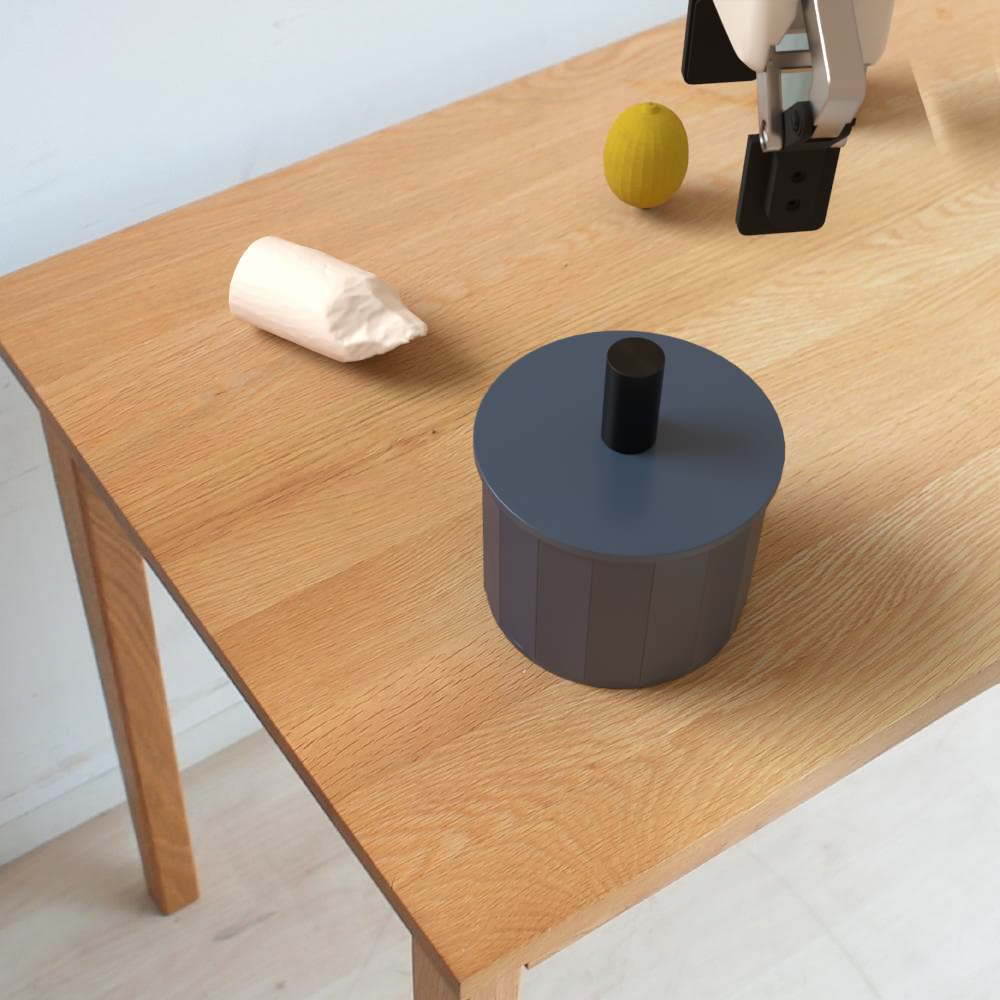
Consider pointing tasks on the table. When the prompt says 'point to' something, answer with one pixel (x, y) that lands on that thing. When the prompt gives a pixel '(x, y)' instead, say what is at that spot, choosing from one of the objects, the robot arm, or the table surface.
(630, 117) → the lemon
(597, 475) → the pot lid
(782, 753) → the table surface
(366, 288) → the broken white chalk
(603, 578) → the pot
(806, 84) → the bottle
